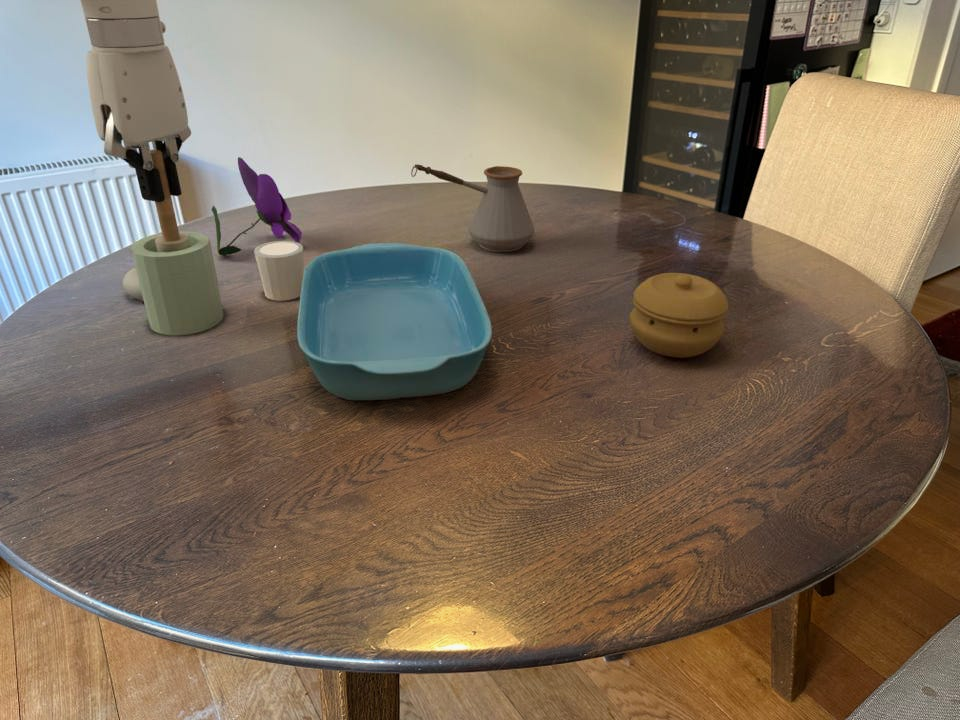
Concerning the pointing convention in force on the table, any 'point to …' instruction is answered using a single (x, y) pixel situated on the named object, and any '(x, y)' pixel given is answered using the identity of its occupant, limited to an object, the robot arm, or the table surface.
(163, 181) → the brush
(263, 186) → the flower
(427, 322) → the casserole dish
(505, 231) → the coffee pot
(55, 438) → the table surface
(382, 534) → the table surface
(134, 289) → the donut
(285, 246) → the white cup
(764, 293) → the table surface
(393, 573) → the table surface
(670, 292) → the pot
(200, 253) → the jar
